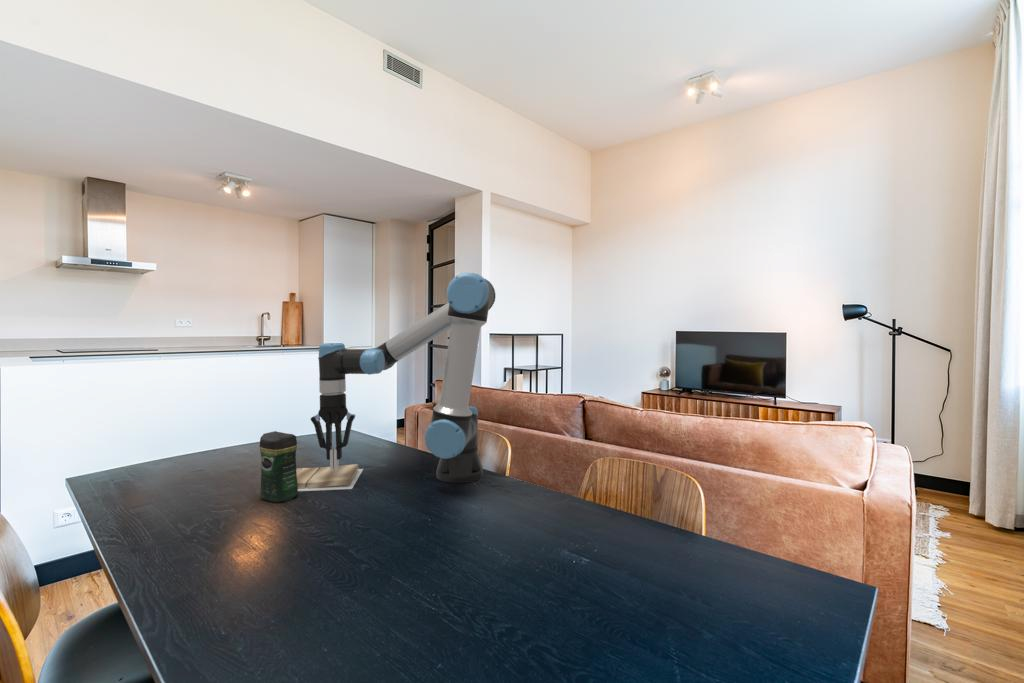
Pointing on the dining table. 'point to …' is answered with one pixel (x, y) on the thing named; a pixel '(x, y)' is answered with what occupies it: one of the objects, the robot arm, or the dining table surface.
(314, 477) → the plank
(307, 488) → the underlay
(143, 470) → the dining table surface
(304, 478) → the laid section
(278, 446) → the coffee jar
